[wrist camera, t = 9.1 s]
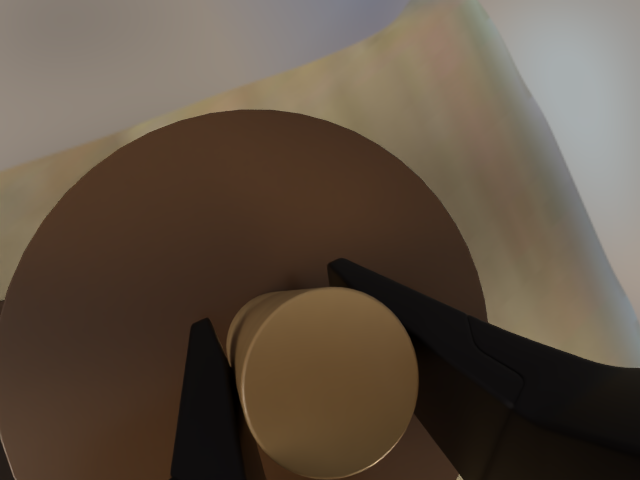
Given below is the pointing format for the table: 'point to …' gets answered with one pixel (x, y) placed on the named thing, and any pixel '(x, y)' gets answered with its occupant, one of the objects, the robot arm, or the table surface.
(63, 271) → the lid
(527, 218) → the table surface
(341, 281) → the robot arm
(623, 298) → the table surface
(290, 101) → the table surface
